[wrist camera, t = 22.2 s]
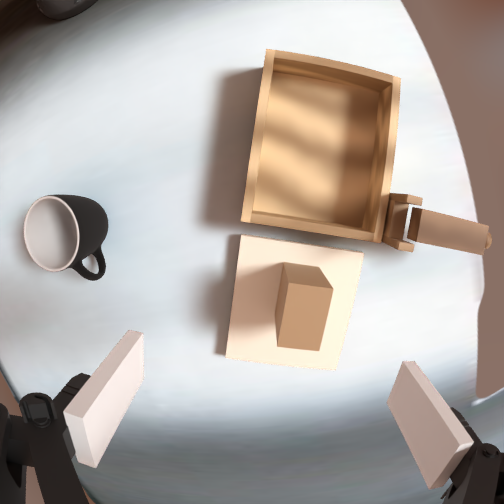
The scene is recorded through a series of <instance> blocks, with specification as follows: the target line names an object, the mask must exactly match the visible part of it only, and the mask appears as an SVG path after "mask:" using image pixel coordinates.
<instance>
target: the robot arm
mask: <svg viewBox="0 0 504 504" xmlns="http://www.w3.org/2000/svg"><path fill="white" fill-rule="evenodd" d="M96 1H97V0H36V2H37V6H38V8H39V10H40V11H41V12H42V13H43V14H44V15H46V16H47V17H49V18H51V19H54V20H61V19H66V18H70V17H72V16H75V15H77V14H79V13H81V12H82V11H84V10H86V9H87V8H88V7H90V6H91V5H92V4H94V3H95V2H96ZM143 380H144V356H143V333H141V332H136V331H132V330H128V331H127V333H126V334H125V335H124V336H123V337H122V339H121V340H120V341H119V342H118V343H117V345H116V346H115V347H114V348H113V350H112V351H111V352H110V353H109V354H108V356H107V357H106V358H105V359H104V361H103V362H102V363H101V364H100V366H99V367H98V368H97V369H96V371H95V372H94V373H93V374H92V376H90V375H86V374H83V373H80V374H78V375H76V376H75V377H73V378H71V380H70V381H69V382H68V383H67V384H66V386H64V388H63V389H62V390H61V392H59V393H58V395H57V396H56V397H55V398H54V399H53V401H52V399H51V397H49V396H48V395H46V394H43V393H30V394H27V395H25V396H24V397H23V398H22V399H21V400H20V403H19V407H20V410H21V413H22V416H23V417H21V416H15V415H9V412H8V410H7V408H6V407H5V406H4V405H3V404H1V403H0V504H25V496H26V495H25V494H26V469H27V466H31V467H35V471H36V475H37V479H38V483H39V486H40V489H41V493H42V496H43V499H44V502H45V504H89V502H88V500H87V498H86V496H85V493H84V491H83V488H82V486H81V484H80V481H79V479H78V476H77V474H76V471H75V469H74V466H73V463H72V461H71V459H72V457H73V456H74V454H76V457H77V460H78V462H80V463H83V464H85V465H88V466H91V467H94V468H96V467H97V465H98V463H99V461H100V459H101V457H102V455H103V454H104V452H105V450H106V448H107V446H108V444H109V442H110V440H111V438H112V437H113V435H114V433H115V431H116V429H117V427H118V425H119V423H120V422H121V420H122V418H123V416H124V414H125V412H126V411H127V409H128V407H129V405H130V403H131V401H132V400H133V398H134V396H135V394H136V392H137V390H138V389H139V387H140V385H141V383H142V381H143ZM387 404H388V406H389V408H390V410H391V412H392V414H393V416H394V418H395V420H396V422H397V424H398V426H399V428H400V430H401V432H402V434H403V436H404V438H405V440H406V442H407V444H408V446H409V448H410V450H411V453H412V455H413V457H414V459H415V461H416V463H417V465H418V467H419V469H420V471H421V473H422V476H423V478H424V480H425V482H426V484H427V486H428V488H429V489H433V488H438V487H442V486H444V484H445V483H446V482H447V480H448V479H449V478H451V480H452V482H453V483H452V484H451V485H450V487H449V488H448V489H447V490H446V492H445V493H444V494H443V495H442V497H441V499H443V498H444V497H445V496H446V497H445V499H444V502H443V504H504V453H501V452H500V451H499V449H498V448H497V447H496V446H494V445H492V444H488V443H484V444H483V443H482V442H481V441H480V439H479V438H478V436H477V435H476V434H475V432H474V431H473V430H472V428H471V427H469V424H468V423H467V421H465V419H464V417H463V416H462V415H461V413H460V412H458V411H457V410H456V409H454V408H453V407H452V408H449V406H448V405H447V403H446V402H445V401H444V399H443V398H442V397H441V395H440V394H439V393H438V391H437V390H436V389H435V387H434V386H433V385H432V383H431V382H430V381H429V379H428V378H427V377H426V375H425V374H424V373H423V371H422V370H421V369H420V368H419V366H418V365H417V364H416V362H415V361H403V362H402V364H401V367H400V370H399V373H398V375H397V378H396V380H395V383H394V386H393V388H392V391H391V393H390V396H389V398H388V400H387Z"/></svg>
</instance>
